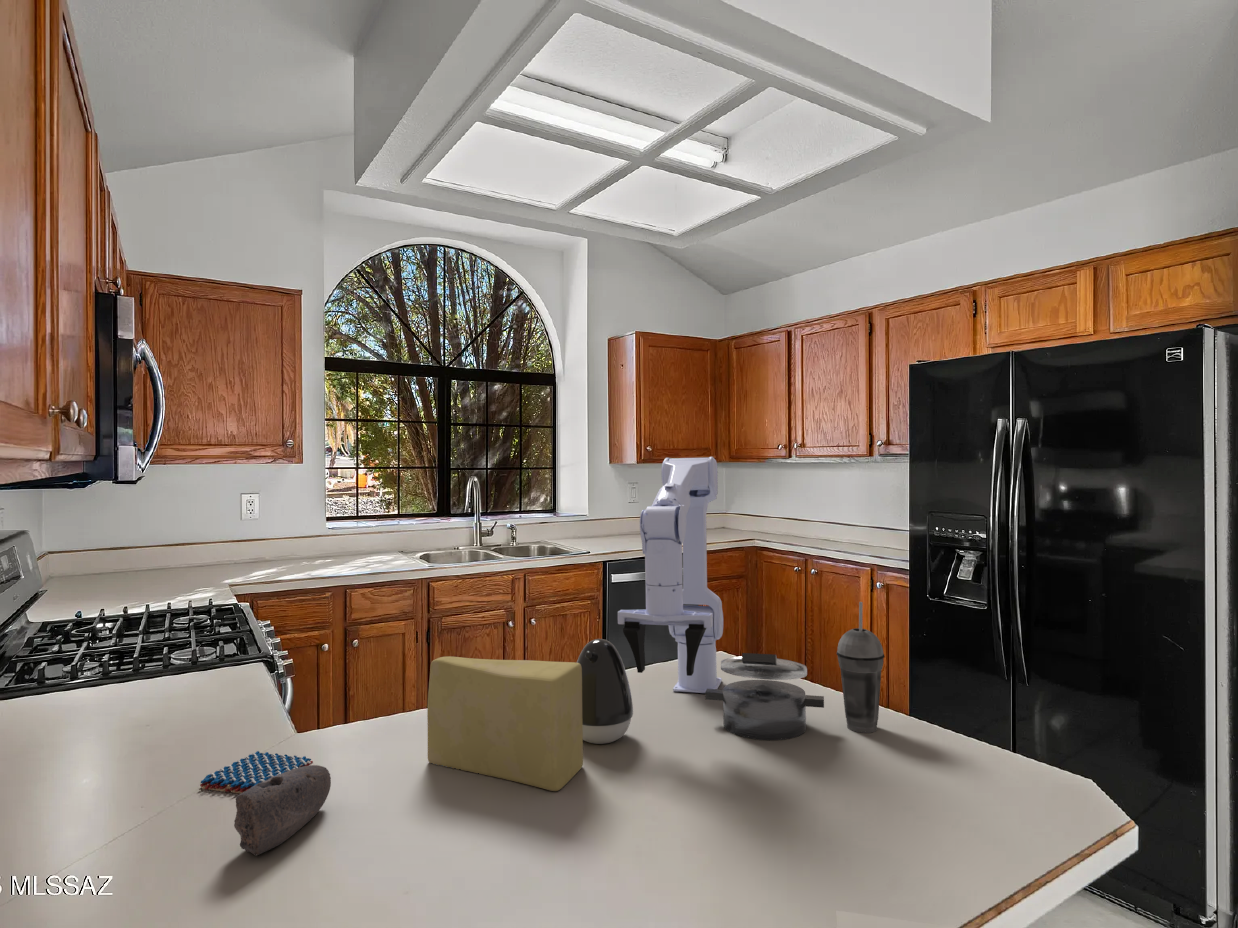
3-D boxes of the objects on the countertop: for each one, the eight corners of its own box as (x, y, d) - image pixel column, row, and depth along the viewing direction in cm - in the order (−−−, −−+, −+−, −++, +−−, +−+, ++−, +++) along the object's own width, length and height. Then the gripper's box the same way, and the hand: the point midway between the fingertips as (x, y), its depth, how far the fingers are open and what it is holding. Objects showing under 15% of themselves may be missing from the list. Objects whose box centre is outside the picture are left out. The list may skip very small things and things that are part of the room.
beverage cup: (879, 720, 117) (876, 597, 117) (892, 736, 110) (889, 604, 110) (833, 719, 117) (831, 597, 118) (843, 735, 110) (840, 604, 111)
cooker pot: (712, 708, 124) (712, 676, 124) (824, 716, 119) (823, 683, 119) (700, 734, 111) (699, 698, 112) (824, 744, 106) (823, 707, 107)
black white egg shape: (557, 747, 107) (555, 645, 108) (580, 724, 117) (579, 630, 117) (622, 753, 104) (620, 648, 105) (641, 729, 114) (639, 633, 115)
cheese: (409, 774, 98) (408, 664, 98) (448, 749, 107) (447, 648, 108) (557, 795, 91) (555, 676, 91) (586, 766, 100) (584, 658, 100)
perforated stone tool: (312, 801, 90) (311, 745, 90) (348, 806, 89) (348, 749, 89) (216, 863, 76) (216, 797, 76) (257, 870, 74) (257, 802, 74)
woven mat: (317, 769, 102) (317, 755, 102) (261, 802, 91) (261, 786, 91) (256, 762, 104) (256, 748, 104) (195, 793, 94) (195, 777, 94)
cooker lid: (726, 677, 123) (726, 666, 124) (808, 682, 119) (808, 670, 120) (713, 659, 110) (714, 646, 111) (805, 664, 106) (805, 651, 107)
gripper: (611, 586, 109) (612, 676, 108) (706, 588, 105) (708, 682, 104) (623, 579, 115) (625, 664, 115) (713, 581, 111) (715, 669, 111)
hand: (665, 672), depth 110 cm, fingers open, 7 cm apart
